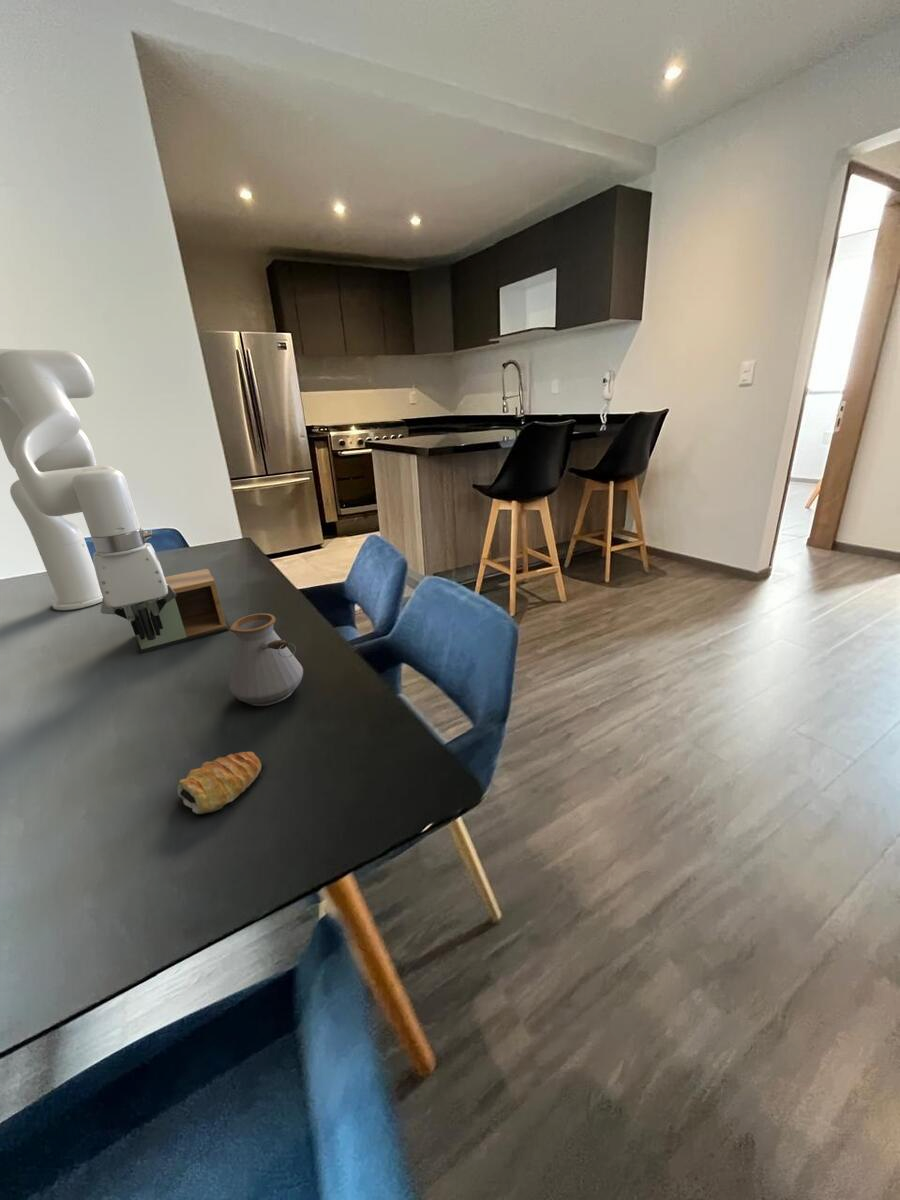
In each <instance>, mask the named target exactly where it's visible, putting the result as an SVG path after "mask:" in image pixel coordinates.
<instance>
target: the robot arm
mask: <svg viewBox="0 0 900 1200" xmlns="http://www.w3.org/2000/svg"><path fill="white" fill-rule="evenodd" d="M95 382H96V381H95V378H94V375H93V373H92V371H91V369H90V367H89V366H88V364H87V363H86V361H85V359H83V358H82V357H81V356H80V355H78V354H77V353H76V352H73V351H70V350H55V349H54V350H53V349H13V348H0V442H1V445H2V447H3V450H4V453H5V455H6V458H7V460H8V462H9V464H10V465H11V467H12V468H13V469H14V470H15V472H16V476H17V477H18V479H17V480H15V481H14V482H13V483H12V484H11V485H10V489H9V492H10V493H9V494H10V497H11V499H12V502H13V503H14V505H15V506H16V508H17V510H18V511H19V513H20V515H21V516H22V518H23V520H24V521H25V524H26V526H27V528H28V530H29V532H30V534H31V536H32V538H33V541H34V544H35V546H36V549H37V551H38V553H39V556H40V558H41V561H42V563H43V566H44V568H45V571H46V573H47V577H48V578H49V581H50V584H51V586H52V588H53V590H54V593H55V596H56V599H55V600H53V601H52V603H51V607H52V609H53V610H56V611H73V610H79V609H84V608H87V607H91V606H94V605H96V604H99V603H101V606H100V613H101V614H104V615H114V616H115V615H116V616H118V617H120V618H123V619H125V620H127V621H128V622H130V625H131V627H132V630H133V633H134V635H135V636H136V635H140V638H141V640H143V639H144V638H145V633H144V630H143V627H142V624H141V621H140V618H139V616H138V615H137V614H136V613H134V610H133V607H132V604H137V603H141V602H146V601H148V602H149V605H150V608H151V610H150V618H151V621H152V624H153V627H154V630H155V633H156V635H158V636H159V635H161V634H160V629H163V625H162V622H161V619H160V616H159V614H160V611H161V610H162V608H163V607H164V605H165V604H166V603H167V602H169V601H171V600H172V599H174V598H175V597H176V592H175V591H174V590H173V589H172V588H171V587H170V586H169V585H168V583H167V582H166V579H165V577H166V576H165V573H164V570H163V568H162V565H161V563H160V560H159V558H158V554H157V553H156V551H155V549H154V547H153V545H152V543H150V542H146V541H147V540H149V539H151V538H153V537H154V536H153V531H152V529H150V530H147V529H145V530H144V529H142V527H141V524H140V519H139V517H138V514H137V511H136V508H135V505H134V501H133V498H132V495H131V492H130V488H129V484H128V482H127V479H126V477H125V474H123V472H122V471H120V470H118V469H116V468H114V467H113V466H110V465H105V464H103V465H102V464H101V465H100V464H99V465H98V464H97V459H96V456H95V452H94V449H93V446H92V443H91V441H90V439H89V438H88V436H87V434H86V433H85V432H84V431H83V429H81V427H82V421H81V418H80V416H79V414H78V412H77V410H76V409H75V408H74V406H73V404H72V402H71V401H70V399H85V398H86V399H88V398H90V397H93V395H94V393H95V391H96V390H95V389H96V383H95ZM79 513H82V515H83V517H84V520H85V523H86V526H87V528H88V533H89V534H90V537H91V541H92V543H93V546H94V548H95V552H93V553H92V556H91V554H90V550H89V548H88V545H87V542H86V540H85V537H84V534H83V532H82V530H81V529H80V528H79V526H78V525H76V524H75V523H73V522H71V521H70V520H67V519H66V518H64V517H63V516H68V515H74V514H79ZM156 599H158V600H156Z"/></svg>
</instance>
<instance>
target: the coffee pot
mask: <svg viewBox="0 0 900 1200" xmlns="http://www.w3.org/2000/svg"><path fill="white" fill-rule="evenodd" d="M275 623H276V617H275V616H274V614H271V613H254V614H250V615H246V616H243V617H241V618H238V619H236V620H235V621H234V622H233V623H232V624H231V626H230V628H229V631H230V632H232V633H233V634H234V635H235V636H236V637H238V641H237V645H236V650H235V655H234V659H233V663H232V668H231V673H230V677H229V682H228V690H229V692H230V693H231V695H233V697H235V698H236V699H237V700H239V701H241V702H242V703H243V702H244V703H246V704H249V705H251V706H256V707H265V706H271V705H274V704H277V703H280V702H282V701H284V700H286V699H287V698H289V697H290V696H291V695H292V694H293V692H294V691H295V690H296V689H297V688H298V687H299V685H300V684H301V681H302V679H303V677H304V668H303V666H302V665H301V663H300V661H298V659H297V658H296V656H295V653H296V651H297V646H296V645H295V644H294V643H290V642H288V641H287V640H284V639H281V638H280V636H279V635H278V634H277V633H276V631H275V630H274V624H275ZM289 645H292V646H293V647H294V651H293V653H292V651H291V650H290V649H289V648H288V646H289Z"/></svg>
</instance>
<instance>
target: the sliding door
mask: <svg viewBox="0 0 900 1200" xmlns="http://www.w3.org/2000/svg"><path fill="white" fill-rule="evenodd" d="M156 600H158V599H156ZM132 607H133V610H134V613H136V614H137V615H138V616H139V618H140V621H141V624H142V627H143V630H144V633H145V638H144V639H143V640H141V638H140V635H135V636H136V639H137V642H138V644H139V648H140V650H141V649H145V648H149V647H153V646H156V645H160V644H164V643H168V642H172V641H175V640H179V639H183V638H187V636H186V633H185V630H184V626H183V623H182V620H181V616H180V613H179V610H178V606H177V603H176V600H175V598H174V599H172V600H171V601H169V602H167V603H166V604H165V605H164V607H163V608H162V610H161V611H160V614H159V616H160V619H161V622H162V625H163V629H160V634H161V635H159V636H158V635H156V633H155V630H154V627H153V624H152V621H151V618H150V610H151V608H150V605H149V602H148V601H146V602H141V603H137V604H132Z"/></svg>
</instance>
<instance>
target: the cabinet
mask: <svg viewBox="0 0 900 1200" xmlns="http://www.w3.org/2000/svg"><path fill="white" fill-rule="evenodd" d="M165 579H166V582H167V583H168V585H169V586H170V587H171V588H172V589H173V590H174V591H175V592H176V597H175V600H176V603H177V606H178V610H179V613H180V616H181V620H182V623H183V626H184V630H185V633H186V636H187V638H183V639H179V640H175V641H172V642H168V643H164V644H160V645H156V646H153V647H149V648H145V649H141V648H140V650H141V653H146V652H150V651H154V650H157V649H158V650H159V649H163V648H165V647H166V648H167V647H169V646H172V645H176V644H177V645H178V644H180V643H185V642H188V641H192V640H195V639H199V638H204V637H207V636H210V635H215V634H218V633H222V632H226V631H228V630H229V628H228V626H227V623H226V619H225V615H224V612H223V607H222V603H221V600H220V595H219V592H218V589H217V585H216V581H215V579H214V577H213V575H212V573H211V572H210V570H209V568H202V569H197V570H192V571H187V572H184V573H178V574H174V575H173V574H172V575H168V576H165Z"/></svg>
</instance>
